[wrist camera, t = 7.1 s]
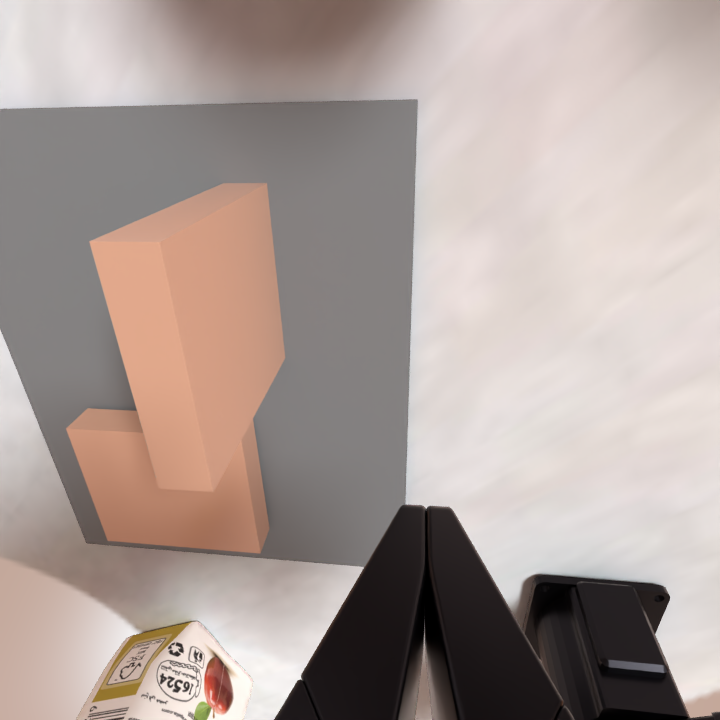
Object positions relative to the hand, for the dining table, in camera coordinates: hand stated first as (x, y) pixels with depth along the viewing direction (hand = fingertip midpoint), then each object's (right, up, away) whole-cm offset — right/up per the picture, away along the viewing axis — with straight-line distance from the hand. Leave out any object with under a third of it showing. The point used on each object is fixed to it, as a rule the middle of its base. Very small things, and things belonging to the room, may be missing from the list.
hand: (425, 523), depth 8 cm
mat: (-8, +2, +14) cm, 16 cm away
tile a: (-6, -3, +15) cm, 16 cm away
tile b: (-5, +6, +11) cm, 13 cm away
